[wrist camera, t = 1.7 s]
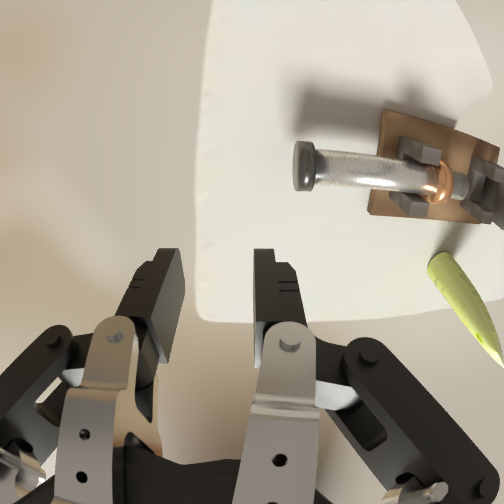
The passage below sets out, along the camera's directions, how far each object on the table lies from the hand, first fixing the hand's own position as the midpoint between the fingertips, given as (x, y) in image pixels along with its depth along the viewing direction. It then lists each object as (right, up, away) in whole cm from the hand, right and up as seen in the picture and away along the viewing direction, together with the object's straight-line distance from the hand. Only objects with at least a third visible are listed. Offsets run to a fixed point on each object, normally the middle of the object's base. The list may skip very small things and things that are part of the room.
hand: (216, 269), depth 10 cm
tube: (+30, -1, +24) cm, 38 cm away
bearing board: (+25, +10, +16) cm, 31 cm away
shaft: (+15, +9, +14) cm, 23 cm away
